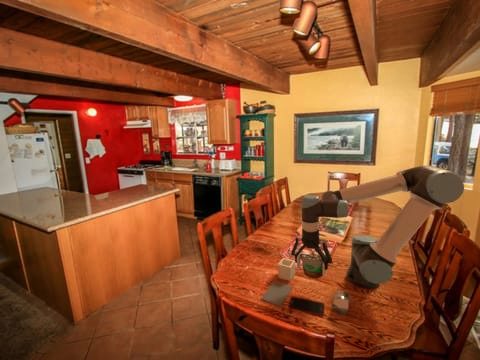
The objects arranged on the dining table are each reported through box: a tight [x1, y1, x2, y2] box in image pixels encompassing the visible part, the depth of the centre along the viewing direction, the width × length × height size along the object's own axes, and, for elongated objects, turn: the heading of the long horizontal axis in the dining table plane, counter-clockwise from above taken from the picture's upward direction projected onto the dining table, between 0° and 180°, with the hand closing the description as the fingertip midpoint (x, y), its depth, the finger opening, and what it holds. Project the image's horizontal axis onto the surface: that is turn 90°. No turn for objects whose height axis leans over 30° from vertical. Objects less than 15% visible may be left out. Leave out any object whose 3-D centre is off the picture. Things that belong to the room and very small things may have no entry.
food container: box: [299, 252, 326, 279], centre depth 111 cm, size 12×6×10 cm, turn 68°
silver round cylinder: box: [331, 290, 351, 316], centre depth 102 cm, size 8×6×6 cm
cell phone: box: [288, 296, 325, 318], centre depth 104 cm, size 8×15×1 cm, turn 68°
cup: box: [277, 257, 296, 283], centre depth 126 cm, size 7×7×8 cm
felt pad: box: [260, 280, 294, 308], centre depth 114 cm, size 10×15×1 cm, turn 148°
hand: (311, 272), depth 112 cm, fingers closed on food container, 11 cm apart
